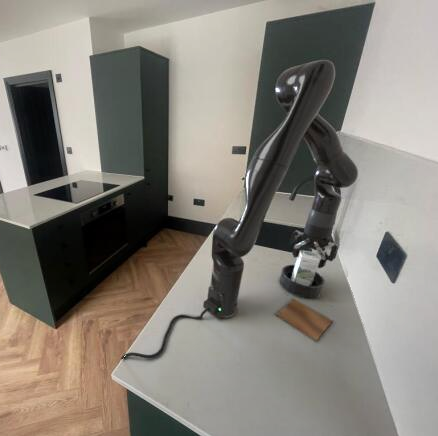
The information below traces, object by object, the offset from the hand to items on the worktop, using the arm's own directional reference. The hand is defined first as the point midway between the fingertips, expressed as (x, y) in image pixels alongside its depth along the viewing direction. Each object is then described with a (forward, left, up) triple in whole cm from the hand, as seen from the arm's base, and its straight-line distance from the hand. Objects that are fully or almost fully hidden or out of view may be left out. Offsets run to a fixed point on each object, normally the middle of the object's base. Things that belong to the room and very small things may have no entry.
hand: (307, 261), depth 85 cm
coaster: (-15, -8, -12) cm, 21 cm away
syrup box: (0, 0, -11) cm, 11 cm away
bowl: (0, 0, -12) cm, 12 cm away
